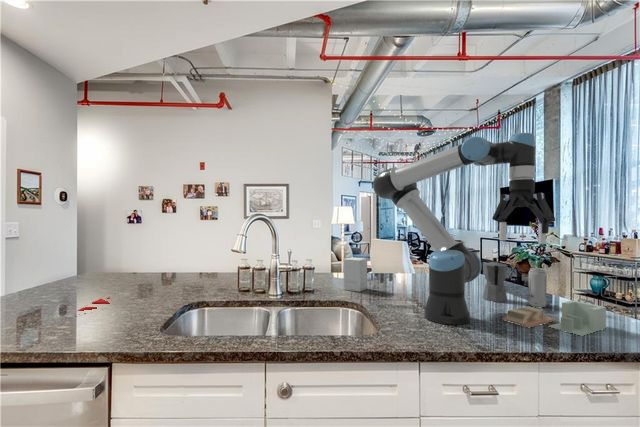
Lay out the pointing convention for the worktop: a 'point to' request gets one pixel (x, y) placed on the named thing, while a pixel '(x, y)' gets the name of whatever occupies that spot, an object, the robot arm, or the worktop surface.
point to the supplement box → (355, 274)
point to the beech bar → (525, 314)
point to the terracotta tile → (533, 323)
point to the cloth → (95, 303)
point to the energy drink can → (537, 287)
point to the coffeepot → (495, 281)
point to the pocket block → (581, 318)
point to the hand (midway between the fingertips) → (521, 242)
